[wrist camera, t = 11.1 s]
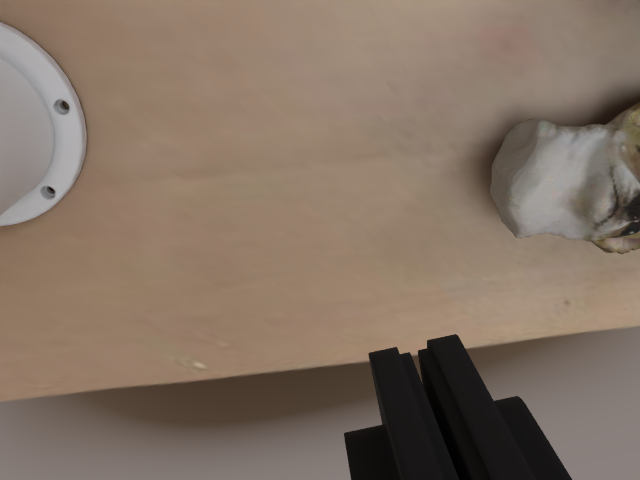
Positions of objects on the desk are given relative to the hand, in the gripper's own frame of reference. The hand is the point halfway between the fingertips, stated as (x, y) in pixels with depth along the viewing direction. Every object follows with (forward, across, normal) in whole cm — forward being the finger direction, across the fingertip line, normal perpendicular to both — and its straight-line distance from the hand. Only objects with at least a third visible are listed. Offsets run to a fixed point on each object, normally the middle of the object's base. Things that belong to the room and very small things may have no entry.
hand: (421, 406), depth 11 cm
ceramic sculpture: (+27, -16, +7) cm, 33 cm away
